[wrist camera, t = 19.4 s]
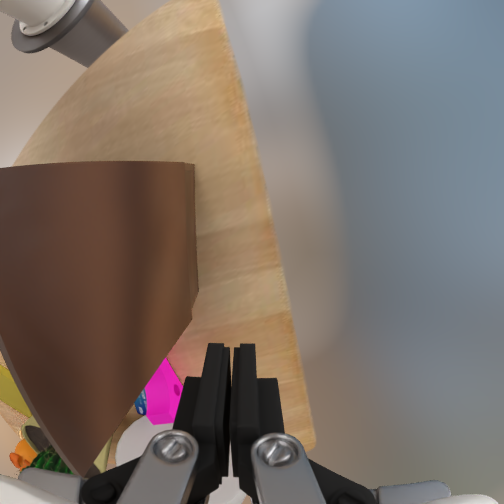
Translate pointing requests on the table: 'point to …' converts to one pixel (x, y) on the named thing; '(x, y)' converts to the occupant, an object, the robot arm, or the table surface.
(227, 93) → the table surface
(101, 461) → the potted cactus
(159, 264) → the lid
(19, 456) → the toy figure
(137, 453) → the alarm clock
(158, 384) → the toy block
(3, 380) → the flat olive board
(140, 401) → the credit card
